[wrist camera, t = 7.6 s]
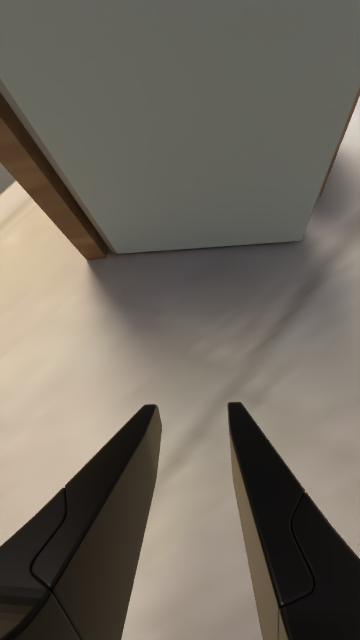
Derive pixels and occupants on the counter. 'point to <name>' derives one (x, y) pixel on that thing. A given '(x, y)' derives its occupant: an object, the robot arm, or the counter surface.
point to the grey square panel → (185, 111)
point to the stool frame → (60, 182)
